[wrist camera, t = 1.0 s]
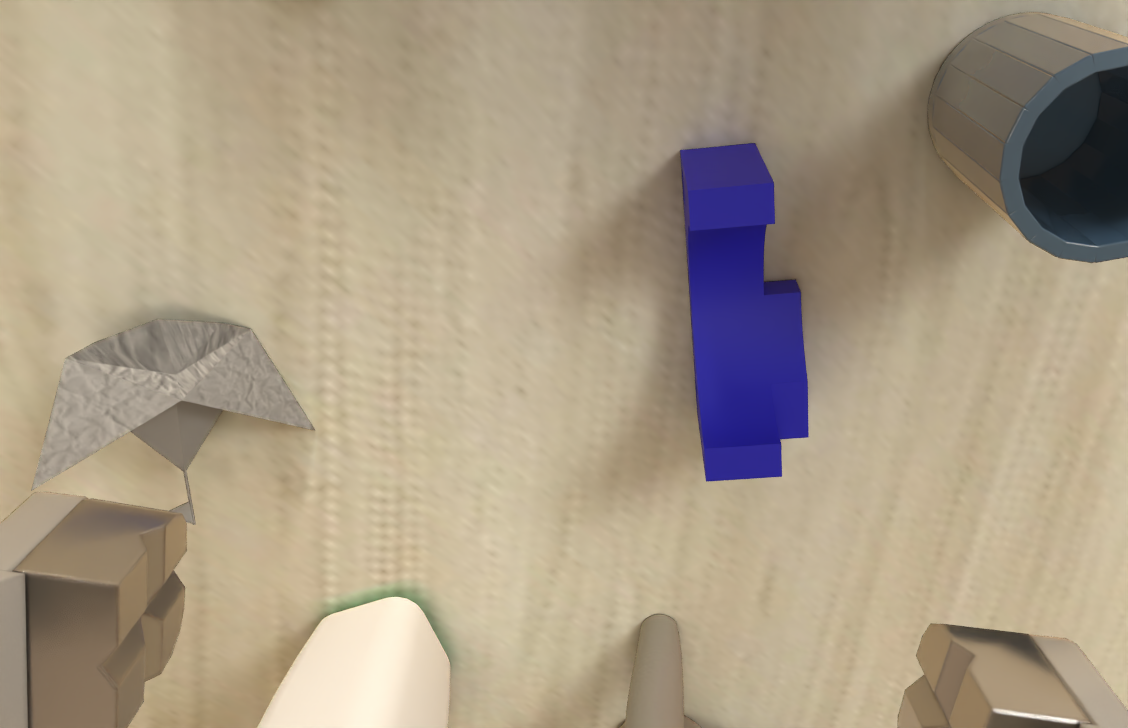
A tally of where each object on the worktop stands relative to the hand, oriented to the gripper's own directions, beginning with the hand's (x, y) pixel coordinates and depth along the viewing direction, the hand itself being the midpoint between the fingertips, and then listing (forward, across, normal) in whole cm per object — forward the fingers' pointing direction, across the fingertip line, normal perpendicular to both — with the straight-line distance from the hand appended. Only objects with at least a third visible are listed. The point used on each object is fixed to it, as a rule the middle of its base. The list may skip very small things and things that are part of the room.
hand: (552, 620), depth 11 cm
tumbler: (+32, -17, -5) cm, 37 cm away
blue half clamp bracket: (+34, -8, +4) cm, 35 cm away
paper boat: (+35, +16, +13) cm, 41 cm away
